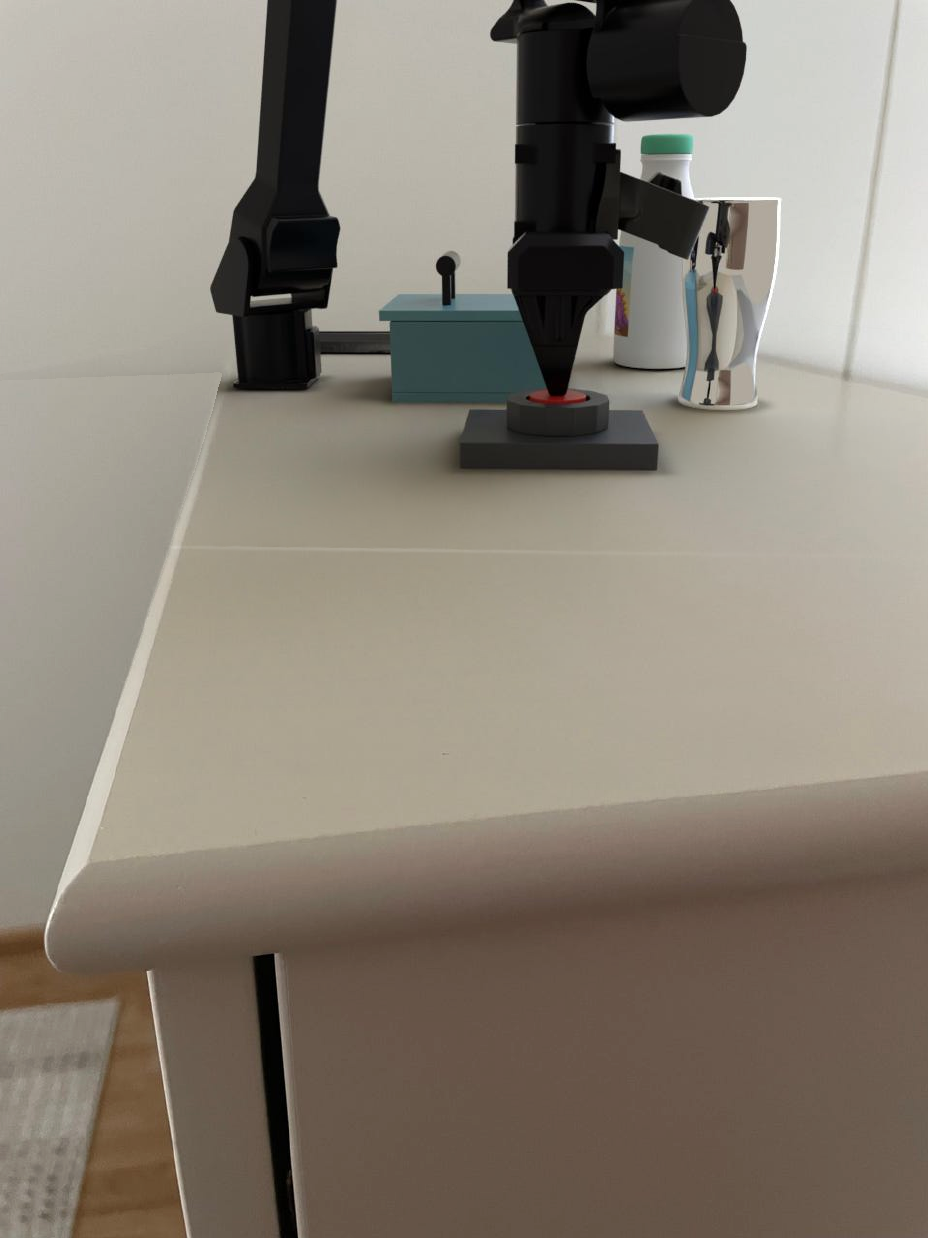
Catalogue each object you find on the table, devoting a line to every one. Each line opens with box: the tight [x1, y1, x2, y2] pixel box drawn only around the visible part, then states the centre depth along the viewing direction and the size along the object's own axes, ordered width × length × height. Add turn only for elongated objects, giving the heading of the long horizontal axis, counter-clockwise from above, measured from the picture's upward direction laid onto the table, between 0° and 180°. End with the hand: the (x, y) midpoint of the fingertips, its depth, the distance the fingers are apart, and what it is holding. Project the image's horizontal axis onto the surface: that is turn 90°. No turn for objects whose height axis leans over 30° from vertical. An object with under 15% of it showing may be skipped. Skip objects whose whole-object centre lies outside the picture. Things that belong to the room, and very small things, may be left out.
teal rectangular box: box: [389, 321, 547, 403], centre depth 87 cm, size 14×13×6 cm
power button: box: [530, 390, 586, 404], centre depth 67 cm, size 4×4×2 cm
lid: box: [378, 250, 523, 322], centre depth 85 cm, size 14×13×5 cm
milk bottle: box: [613, 133, 695, 370], centre depth 96 cm, size 8×8×20 cm
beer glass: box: [677, 197, 782, 411], centre depth 79 cm, size 7×7×15 cm
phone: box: [319, 330, 391, 353], centre depth 110 cm, size 8×1×15 cm
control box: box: [459, 387, 660, 471], centre depth 67 cm, size 12×10×4 cm
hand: (557, 394), depth 66 cm, fingers closed, pressing on power button
